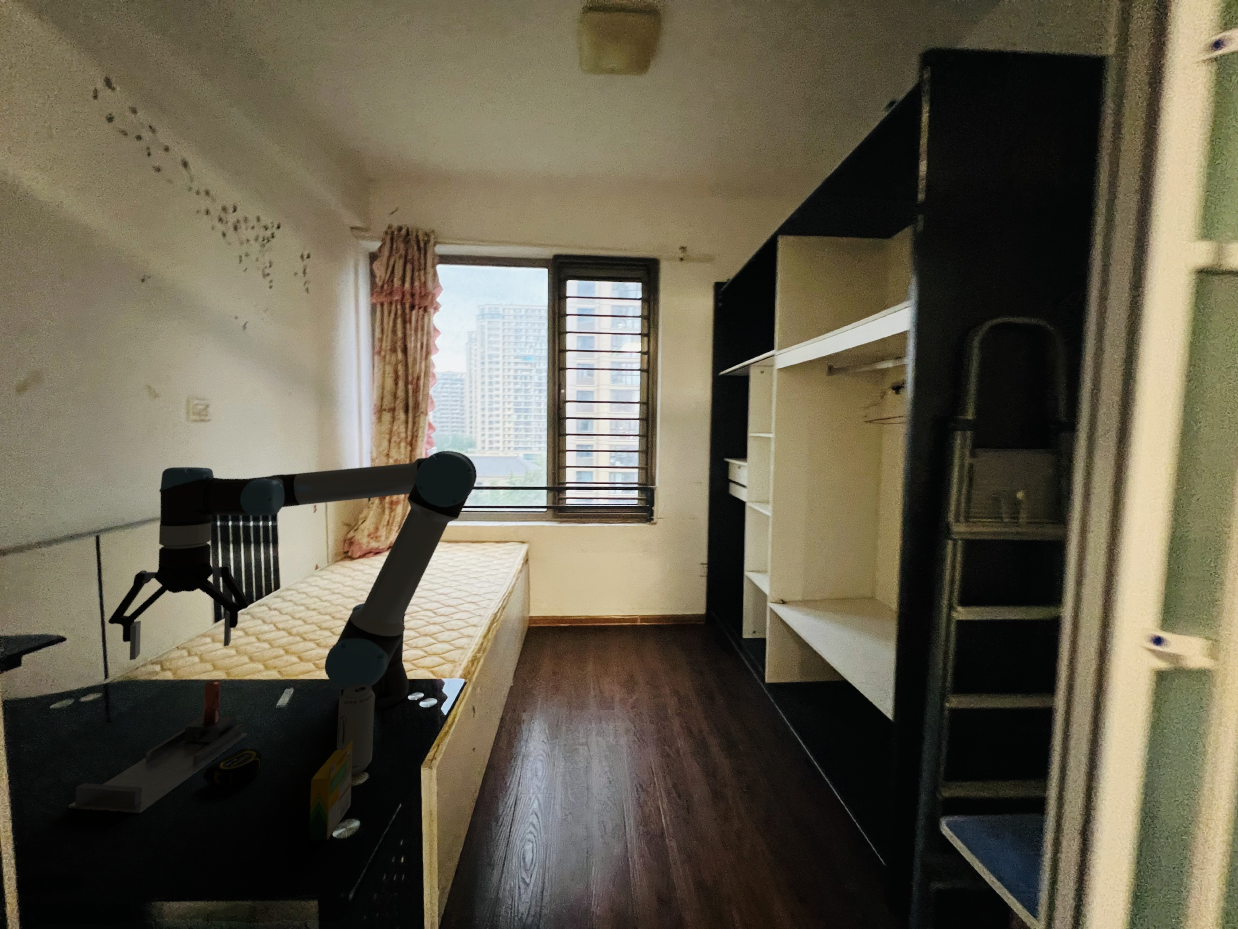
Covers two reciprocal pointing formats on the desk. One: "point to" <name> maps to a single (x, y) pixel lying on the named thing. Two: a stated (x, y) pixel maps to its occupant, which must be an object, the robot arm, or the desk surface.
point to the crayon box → (330, 794)
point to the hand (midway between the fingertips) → (182, 650)
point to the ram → (210, 718)
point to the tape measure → (234, 768)
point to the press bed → (154, 774)
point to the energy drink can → (357, 724)
